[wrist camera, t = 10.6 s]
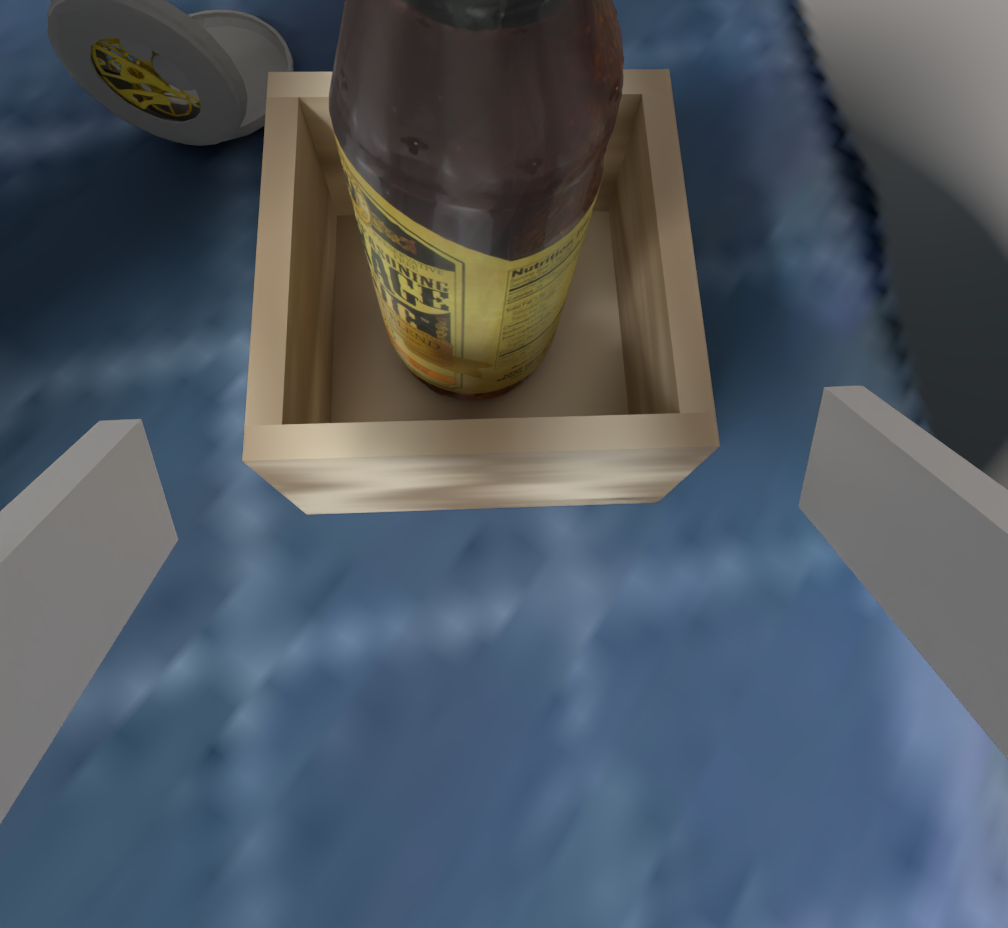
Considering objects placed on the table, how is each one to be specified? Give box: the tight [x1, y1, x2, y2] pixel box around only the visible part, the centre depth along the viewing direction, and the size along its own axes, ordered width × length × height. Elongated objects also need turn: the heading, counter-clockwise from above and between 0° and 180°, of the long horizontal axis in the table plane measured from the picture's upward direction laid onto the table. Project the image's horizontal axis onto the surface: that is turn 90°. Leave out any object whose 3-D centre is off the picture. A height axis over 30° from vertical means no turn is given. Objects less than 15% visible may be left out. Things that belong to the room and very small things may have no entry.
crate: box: [242, 69, 720, 514], centre depth 24 cm, size 13×13×7 cm
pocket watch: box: [48, 0, 294, 146], centre depth 25 cm, size 8×8×10 cm
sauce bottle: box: [329, 0, 624, 399], centre depth 16 cm, size 7×6×20 cm
